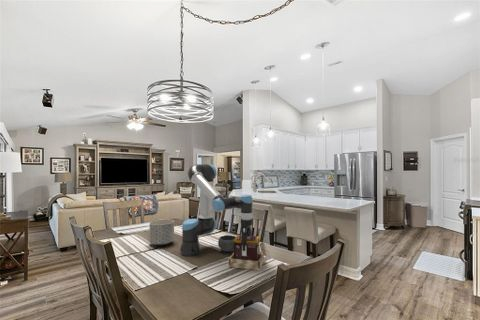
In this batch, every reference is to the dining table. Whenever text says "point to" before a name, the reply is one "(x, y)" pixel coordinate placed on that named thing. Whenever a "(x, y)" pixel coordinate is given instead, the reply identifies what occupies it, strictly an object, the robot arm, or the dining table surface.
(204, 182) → the robot arm
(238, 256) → the supplement box
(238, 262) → the crate
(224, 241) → the bowl
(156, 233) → the planter
